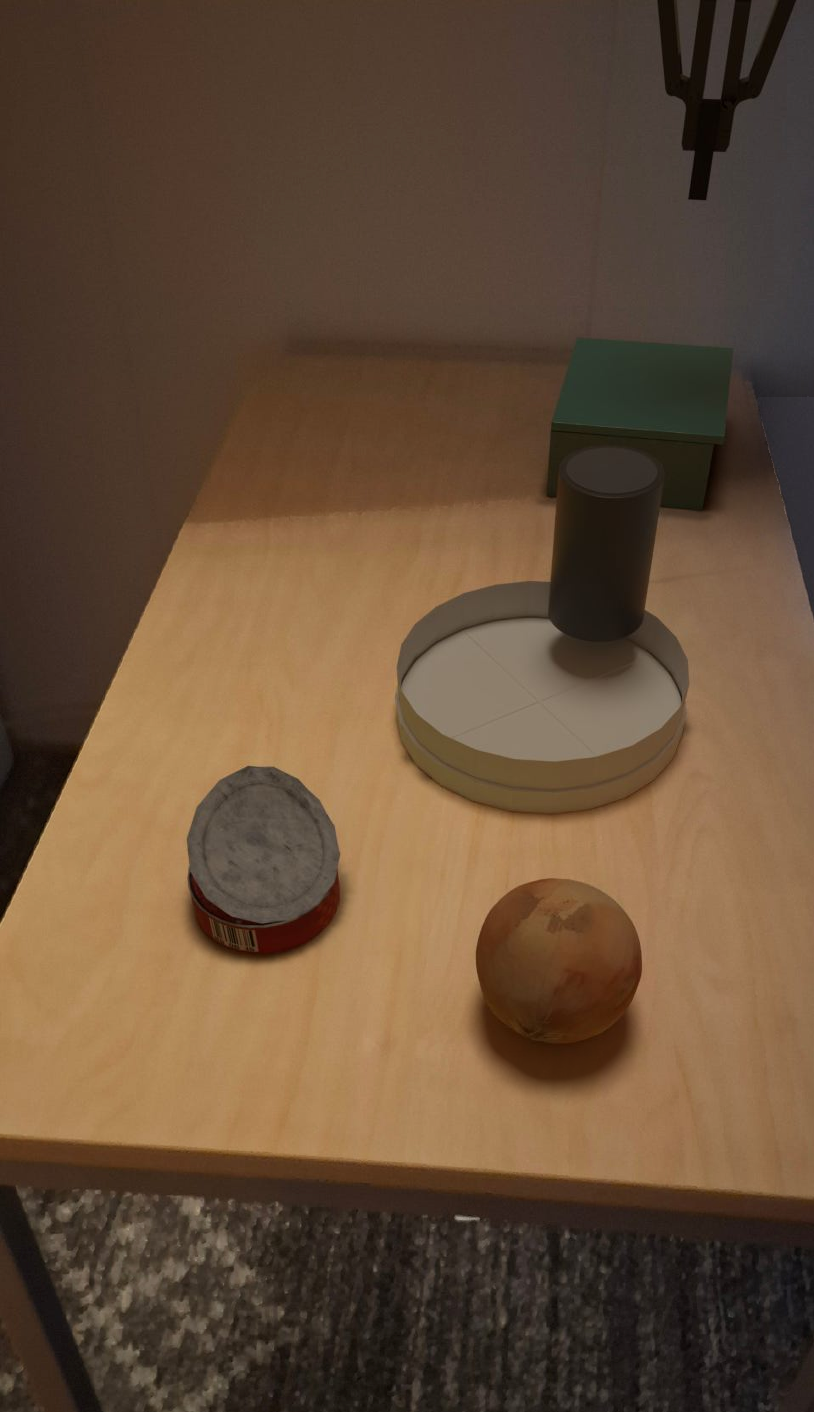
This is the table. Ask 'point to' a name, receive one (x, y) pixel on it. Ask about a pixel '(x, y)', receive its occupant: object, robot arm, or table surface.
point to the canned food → (262, 862)
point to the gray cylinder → (604, 541)
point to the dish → (537, 703)
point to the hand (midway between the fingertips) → (698, 194)
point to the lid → (645, 391)
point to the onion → (558, 960)
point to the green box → (678, 458)
